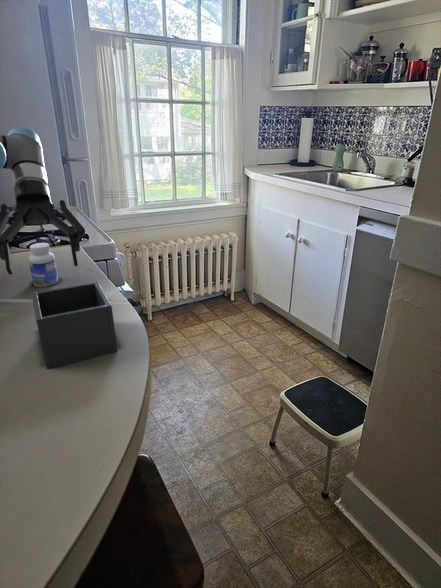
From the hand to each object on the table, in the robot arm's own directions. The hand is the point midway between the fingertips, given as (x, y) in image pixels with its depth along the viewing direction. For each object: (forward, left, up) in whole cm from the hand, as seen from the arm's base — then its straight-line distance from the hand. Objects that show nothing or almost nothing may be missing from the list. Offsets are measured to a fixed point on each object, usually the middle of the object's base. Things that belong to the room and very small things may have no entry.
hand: (43, 267), depth 87 cm
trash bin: (+15, -23, -5) cm, 28 cm away
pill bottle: (-1, +2, -5) cm, 6 cm away
